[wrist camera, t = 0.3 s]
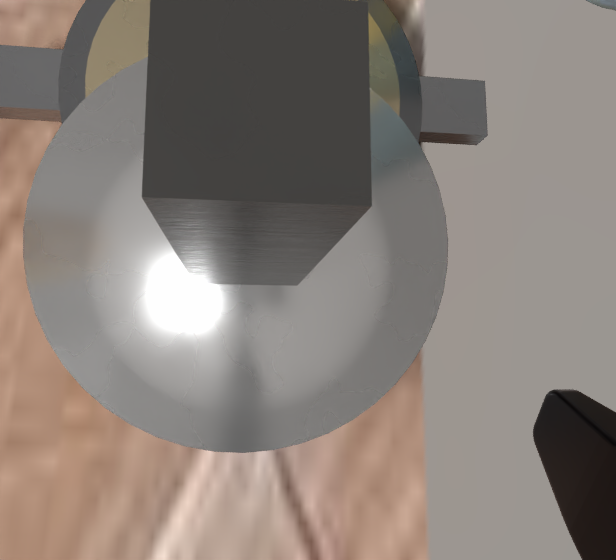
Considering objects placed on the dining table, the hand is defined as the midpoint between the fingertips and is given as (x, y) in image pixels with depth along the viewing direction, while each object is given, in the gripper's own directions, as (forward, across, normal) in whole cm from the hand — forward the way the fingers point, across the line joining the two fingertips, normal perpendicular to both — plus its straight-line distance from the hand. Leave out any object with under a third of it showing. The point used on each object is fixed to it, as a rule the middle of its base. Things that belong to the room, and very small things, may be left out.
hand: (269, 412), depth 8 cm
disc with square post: (+11, 0, +2) cm, 12 cm away
